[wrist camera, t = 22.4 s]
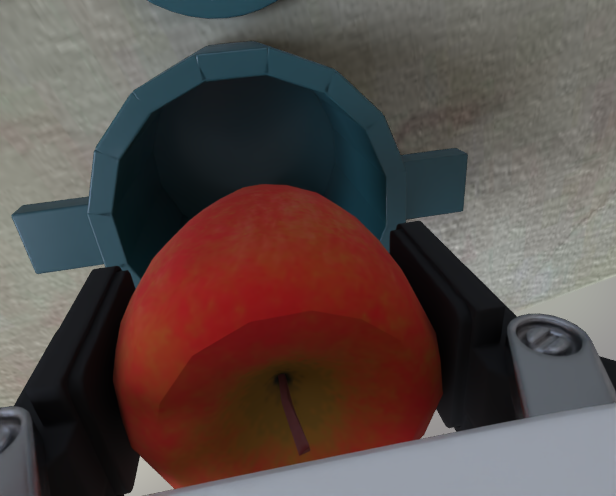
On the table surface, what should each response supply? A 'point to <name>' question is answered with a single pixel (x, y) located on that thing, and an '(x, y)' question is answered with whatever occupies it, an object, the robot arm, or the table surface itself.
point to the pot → (235, 158)
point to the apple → (272, 342)
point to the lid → (213, 7)
